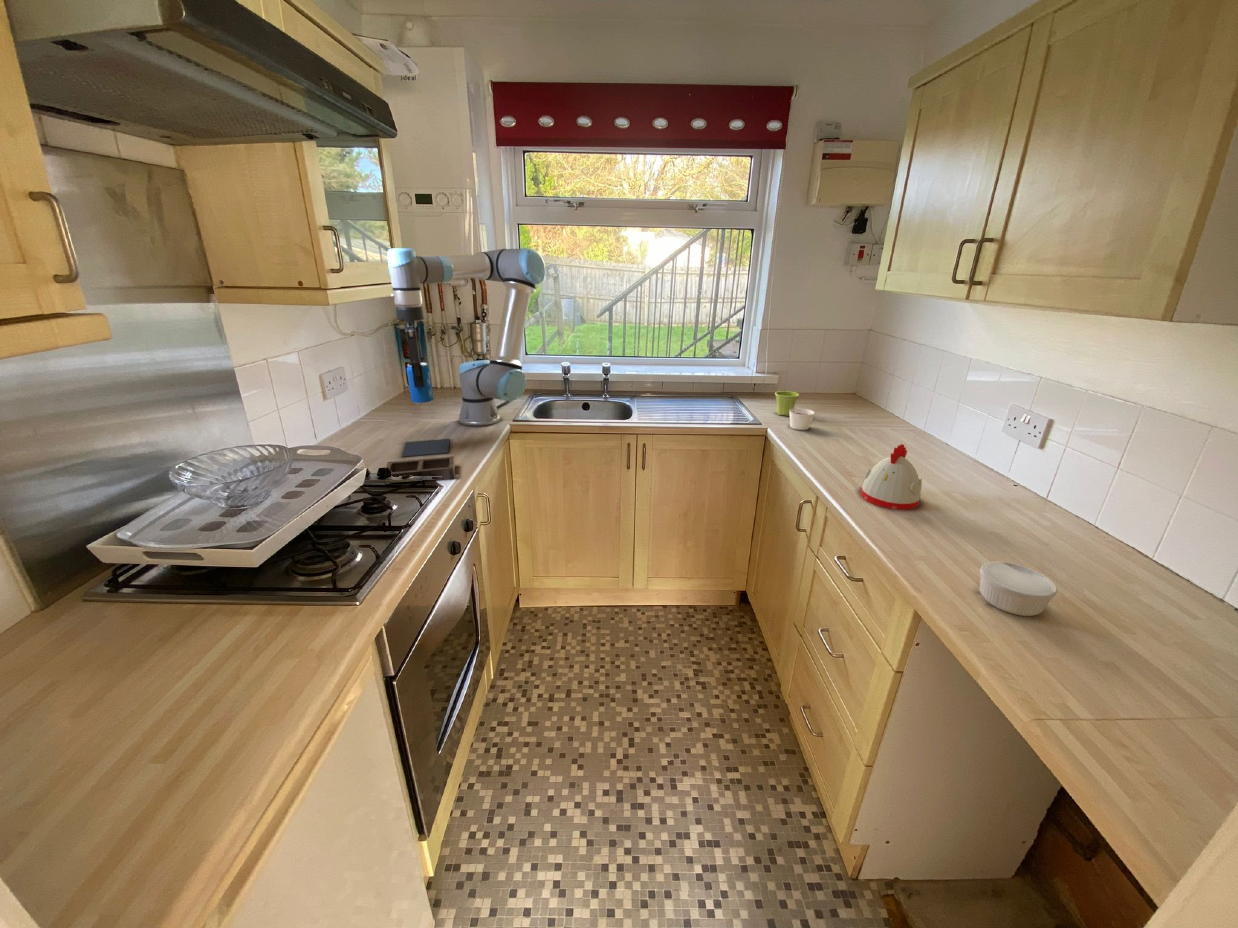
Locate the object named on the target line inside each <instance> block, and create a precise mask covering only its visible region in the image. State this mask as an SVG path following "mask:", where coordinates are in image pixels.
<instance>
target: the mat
mask: <svg viewBox="0 0 1238 928" xmlns="http://www.w3.org/2000/svg"><path fill="white" fill-rule="evenodd" d="M449 451H450V438H441V439H428V440H416V441H415V440H414V441H406V443H405V445H404V448H403V451H402V454H401V457H402V458H409V457H410V458H411V457H422V456H423V457H424V456H433V455H444V454H445V455H447V454H449Z"/></svg>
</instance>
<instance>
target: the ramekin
mask: <svg viewBox="0 0 1238 928" xmlns="http://www.w3.org/2000/svg"><path fill="white" fill-rule="evenodd" d="M979 574H980V577H979V579H980V580H979V592H980V594H981V596H982V597H983V599H984V600H985V601H986V602H987V603H988V604H990V605H991V606H993V607H995V608H997V609H999V610H1001V611H1004V612H1005V613H1008V614H1012V615H1016V616H1023V617H1033V616H1037V615H1039V614H1041V613H1043V611H1044V610H1045V609H1046V608H1047V606H1048V605H1049V604H1050V602H1051V600H1052V599H1054V598H1055V597H1056V595H1057V593H1058V588H1057V585H1056V584H1055V583H1054V581H1052V580H1051V579H1050V578H1048V577H1047V576H1046V575H1044V574H1042V573H1040V572H1039V571H1036V570H1033V569H1032V568H1030V567H1027V566H1024V565H1020V564H1017V563H1014V562H1013V563H1012V562H1009V561H1000V560H999V561H997V560H996V561H995V560H994V561H988V562H985V563H984V564H982V566H981V568H980V570H979Z"/></svg>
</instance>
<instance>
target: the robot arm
mask: <svg viewBox="0 0 1238 928" xmlns="http://www.w3.org/2000/svg"><path fill="white" fill-rule="evenodd" d="M386 253H387V260H386V263H387V262H388V269H389V274H390V277H391V278H390V277H389V278H390V282H391V288H392V293H391V295H390V297H391V298H393V300H394V301H393V302H394V305H395V306H396V307H395V308H394V309H395V315H396V320H397V321H400V322H405V324H406V326H404V333H405V338H406V342H407V346H408V347H407V348H408V353H409V354H408V355H409V363H408V364H409V366H412V372H413V379H414V385H415V387H424V380H423V372H422V365H421V363H424V361H425V359H426V357H425V356H423V351H422V345H421V344H422V343H421V328H420V325H419V324H418V323H417V322H418V321H422V320H424V319H425V312H424V307H423V306H422V305H423V297H422V290H421V284H443V283H444V284H445V283H449V282H451V281H452V280H462V279H463V280H465V279H477V280H479V281H491V282H499V283H502V285H503V286H504V288H505V289H506V290H505V297H504V302H503V307H502V313H501V314H502V315H501V319H500V326H499V331H498V337H497V342H496V343H497V344H496V348H495V355H494V356H493V357H491V358H490V359H481V360H480V359H479V360H472V361H467V362H462V363H461V364H460V365H459V367H458V370H459V374H458V377H459V384H460V393H461V399H462V401H461V403H462V404H461V409H460V411H459V417H458V418H459V423H460V424H461V425H464V426H468V427H482V426H484V427H485V426H490V425H494V424H496V423H498V422H500V421H501V415H500V412H499V408H501V407H503V406H505V405H507V404H509V403H510V402H513V401H516V400H518V399H519V398H520V397H521V396H522V395H523V394H524V392H525V390H526V386H527V378H526V374H525V372H524V371H522V370H523V365H522V363H521V362H520V357H521V351H522V346H523V339H524V334H525V330H526V329H525V327H526V323H527V316H528V311H529V305H530V299H531V295H533V294H535V293H536V291H537V285H540V284H541V283H542V282H544V281H545V278H546V271H547V270H546V264H545V261H544V259H543V257H542V255H541V254H540V252H539V251H537V250H535V249H533V248H526V247H523V248H499V249H493V250H487V251H477V252H475V253H474V254H457V255H454V254H453V255H417V254H416V250H415V249H414V248H402V247H401V248H400V247H399V248H398V247H397V248H396V247H395V248H388V250H387V252H386ZM495 399H496V400H499V401H504V402H502V403H500V404H498V405H496V403H495Z"/></svg>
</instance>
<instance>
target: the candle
mask: <svg viewBox="0 0 1238 928" xmlns="http://www.w3.org/2000/svg"><path fill="white" fill-rule="evenodd" d="M814 415H815V411H813V410H811V409H808V408H802V407H801V408H799V407H797V408H795V407H794V409H790V410H789V426H790V428H791V429H794V430H798V431H806V430H809V429H810V427H811V425H812V421H813V419H814Z"/></svg>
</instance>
